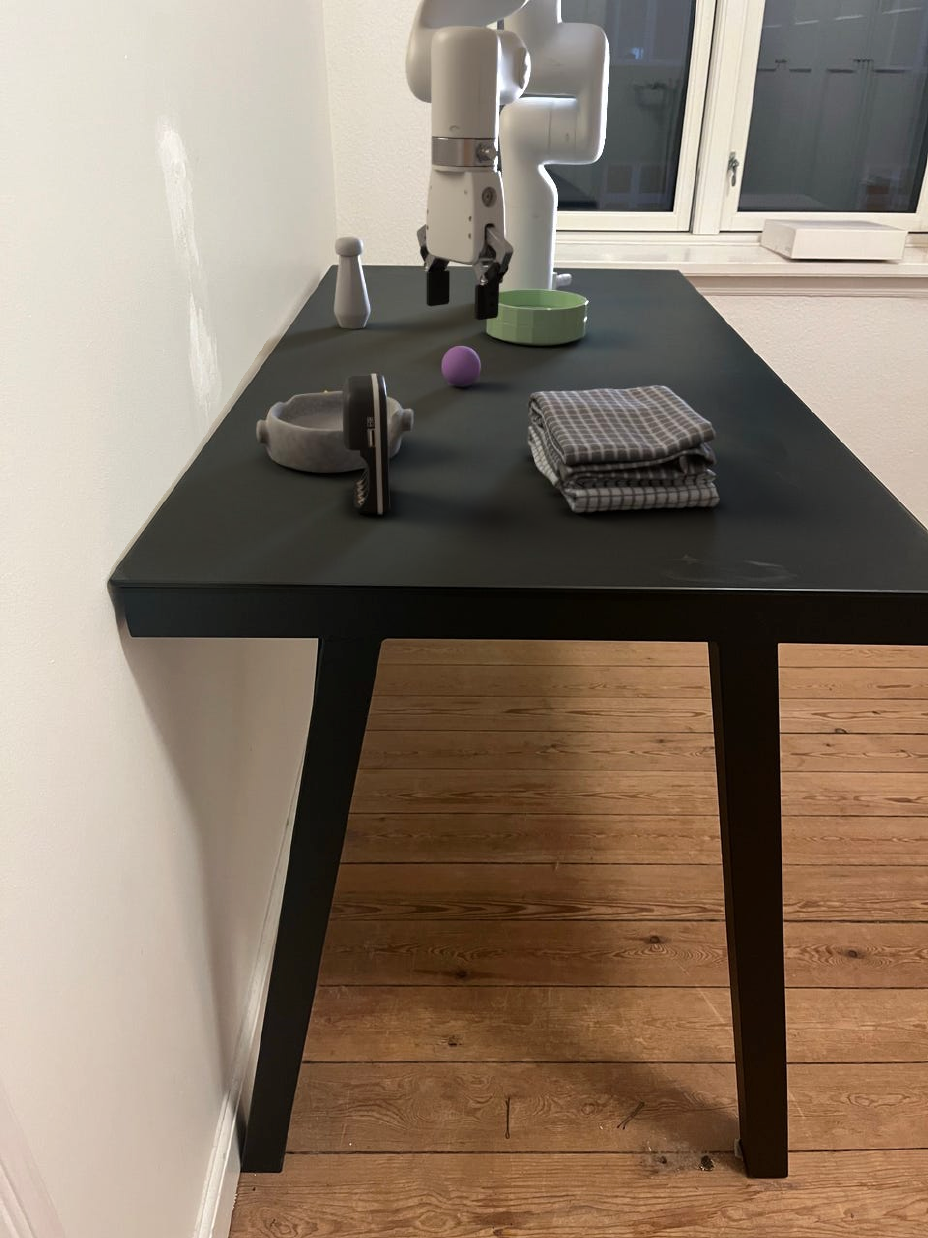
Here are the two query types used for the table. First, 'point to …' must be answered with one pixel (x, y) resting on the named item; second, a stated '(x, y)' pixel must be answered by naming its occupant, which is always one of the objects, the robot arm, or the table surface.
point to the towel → (623, 448)
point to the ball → (461, 366)
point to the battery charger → (368, 439)
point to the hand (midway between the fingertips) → (461, 311)
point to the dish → (321, 433)
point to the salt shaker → (350, 285)
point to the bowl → (539, 317)
